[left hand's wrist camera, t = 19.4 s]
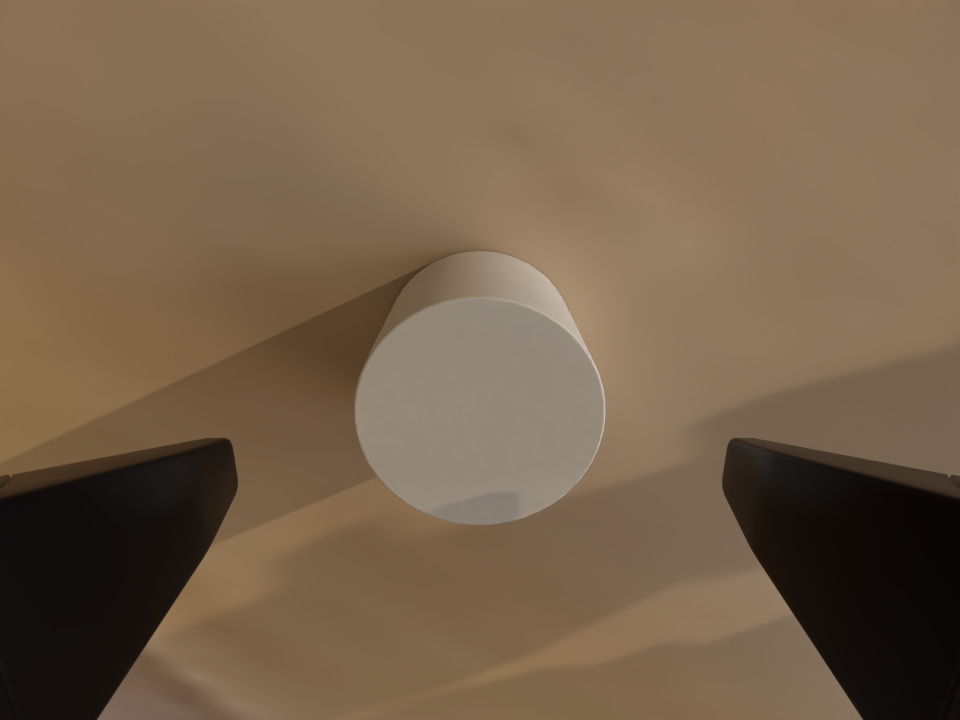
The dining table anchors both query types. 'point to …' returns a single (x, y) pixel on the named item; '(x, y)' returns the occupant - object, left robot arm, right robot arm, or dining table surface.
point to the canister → (479, 393)
